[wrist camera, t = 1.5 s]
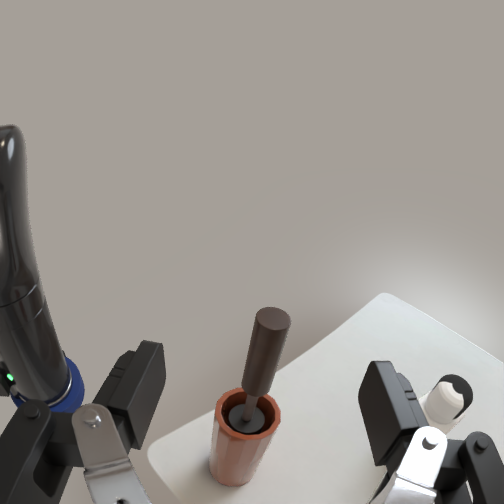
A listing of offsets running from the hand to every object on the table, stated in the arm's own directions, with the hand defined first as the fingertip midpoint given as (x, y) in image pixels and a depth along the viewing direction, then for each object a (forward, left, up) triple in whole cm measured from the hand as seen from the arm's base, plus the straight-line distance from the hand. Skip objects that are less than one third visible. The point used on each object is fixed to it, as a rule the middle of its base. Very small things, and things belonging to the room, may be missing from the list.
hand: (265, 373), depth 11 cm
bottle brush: (+4, +6, -20) cm, 21 cm away
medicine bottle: (+30, -1, -28) cm, 42 cm away
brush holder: (+4, +6, -28) cm, 29 cm away
